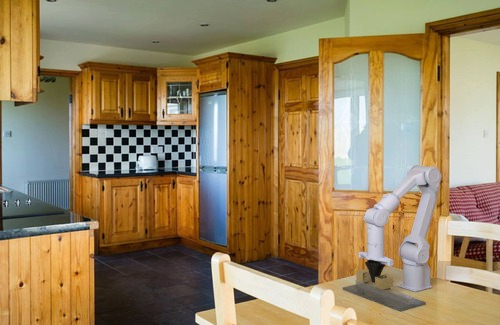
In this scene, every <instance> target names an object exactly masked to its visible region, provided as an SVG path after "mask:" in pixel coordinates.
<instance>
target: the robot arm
mask: <svg viewBox="0 0 500 325" xmlns="http://www.w3.org/2000/svg"><path fill="white" fill-rule="evenodd" d="M442 176H443V175H442V174H441V172H440V170H439V168H438V167H437V166H434V165H432V166H431V165H430V166H427V165H418V164H415V165H413V166H411V167H410V169H408V170H407V172H406V175H405V177H404V178H403V179H402V180H401V181H400V183H398V185H397V186H396V187H395V189H394V190H393V191H392V192H388V193H386V194H385V193H384V194H383V195H382V198H381V199H380V200H379V201H377V203H375V204H374V205H373V207H370V208H369V209H367V210H366V211H365V213H364V216H363V221H364V222H365V226H366V251H359V252H358V255H357V256H358V259H365V260H367V261H365V262H364V264H365V266H366V269H368V270H369V273H370V277H371V281H372V282H373V284H375V277H377V276H382V272H383V270H384V268H385V266H387V267H393V266H394V263H395V262H394V259H392V258H389V257H388V256H386V255H385V225H387V224H388V222H389V217H390V216H391V214H393V212H394V211H395V210H396V209H397V208H398V207H399V206H400V204H401V203H400V200H401V199H402V198H403V197H405V196H406V195H407V193H409V192H411V190H412V189H413V188H415V187H417V188H418V189H419V190H420V192H421V196H420V200H419V203H418V206H417V210H416V213H415V217H414V221H413V223H412V227H411V231H410V234H409V235H407V236H405V237H404V239H403V241H402V243H401V245H400V246H399V247H398V254H399V257H400V258H401V261H402V262H403V264H402V268H403V269H402V274H403V275H402V283H400V284H399V283H398V284H397V287H400V288H402V289H404V290H408V291H411V292H414V293H415V292H419V291H424V290H428V289H432V288H433V285H431V267H430V265H429V264H428V261H429V259H430V247H431V245H430V243H429V242H428V240H427V237H428V233H429V230H430V226H431V223H432V219H433V216H434V212H435V208H436V204H437V201H438V199H439V194H440V184H441V180H442V178H443V177H442Z"/></svg>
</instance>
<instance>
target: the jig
mask: <svg viewBox="0 0 500 325" xmlns="http://www.w3.org/2000/svg"><path fill="white" fill-rule="evenodd" d="M355 279H356V280H355V284H352V285H348V286H347V285H346V286H343V287H342V291H345V292H348V293H350V294H353V295H356V296H359V297H360V298H364V299H366V300H369V301H371V302H374V303H376V304H380V305H382V306H384V307H387V308H390V309H393V310H396V311H398V312H404V311H407V310H410V309H415V308H419V307H423V306H426V301H423V300H421V299H419V298H415V297H414V296H411V295H408V294H405V293H402V292H400V291H397V290H393V289H392V288H391V289H383V290H381V289H379V288H376V287H375V283H373V282H372V281H371V277H370V273H369V270H368V268H364V269H359V270H356V273H355Z"/></svg>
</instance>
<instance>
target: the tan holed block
mask: <svg viewBox="0 0 500 325" xmlns="http://www.w3.org/2000/svg"><path fill="white" fill-rule="evenodd" d="M374 284H375V287H376V288H379V289H381V290H383V289H391V290H392V288H393V287H394V276H391V275H388V274H383V275H382V274H381V275H380V276H377V277H375V283H374Z"/></svg>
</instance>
